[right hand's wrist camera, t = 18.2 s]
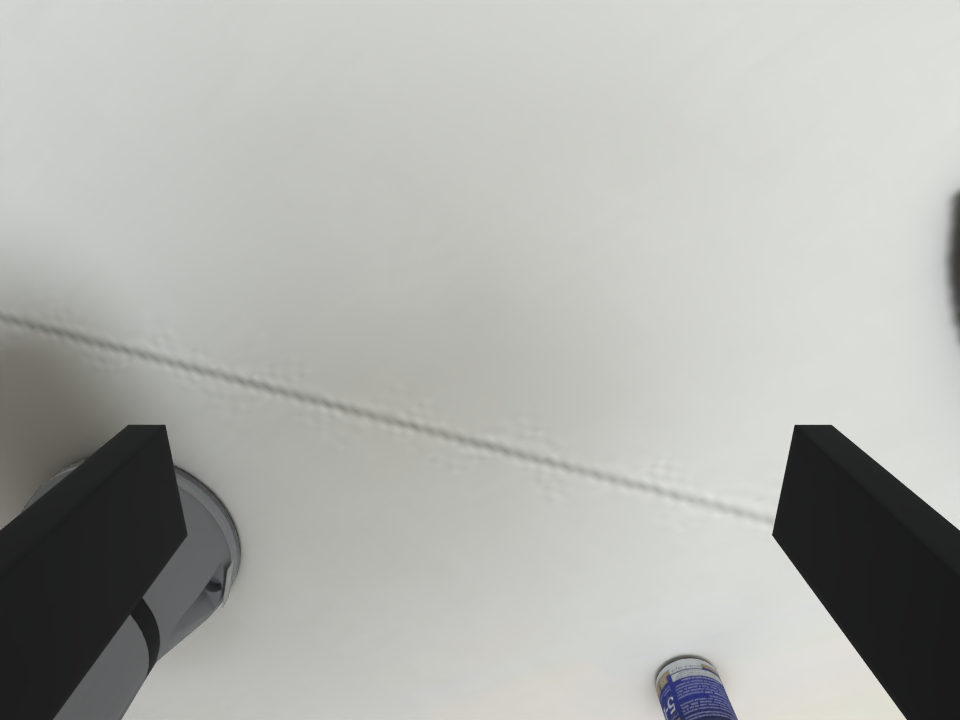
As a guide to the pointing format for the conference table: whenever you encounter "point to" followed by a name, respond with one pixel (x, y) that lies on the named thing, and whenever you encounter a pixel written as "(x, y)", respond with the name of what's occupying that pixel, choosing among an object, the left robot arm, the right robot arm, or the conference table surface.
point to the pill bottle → (692, 692)
